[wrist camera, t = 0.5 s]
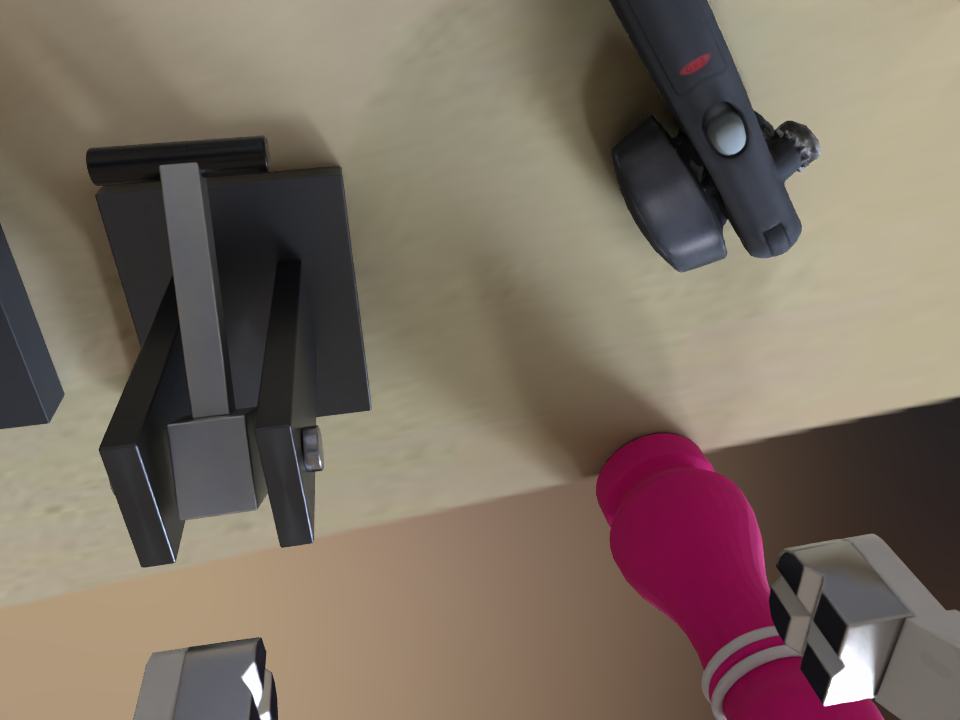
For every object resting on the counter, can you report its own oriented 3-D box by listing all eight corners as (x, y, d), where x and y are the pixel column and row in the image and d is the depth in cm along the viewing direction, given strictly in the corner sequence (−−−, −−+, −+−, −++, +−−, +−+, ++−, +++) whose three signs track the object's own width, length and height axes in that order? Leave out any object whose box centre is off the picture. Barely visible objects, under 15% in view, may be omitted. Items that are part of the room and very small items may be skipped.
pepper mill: (735, 471, 42) (1011, 845, 25) (635, 547, 44) (830, 945, 27) (665, 400, 39) (931, 777, 22) (560, 484, 40) (729, 897, 23)
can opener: (788, 192, 34) (864, 237, 29) (651, 270, 35) (703, 327, 30) (647, -255, 25) (724, -294, 20) (464, -134, 26) (497, -145, 21)
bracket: (102, 184, 29) (-34, 349, 18) (341, 165, 30) (350, 308, 19) (171, 420, 34) (101, 654, 23) (370, 396, 35) (390, 608, 25)
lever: (104, 157, 23) (73, 138, 21) (271, 145, 24) (259, 124, 21) (152, 508, 24) (127, 528, 21) (313, 486, 24) (306, 503, 22)
